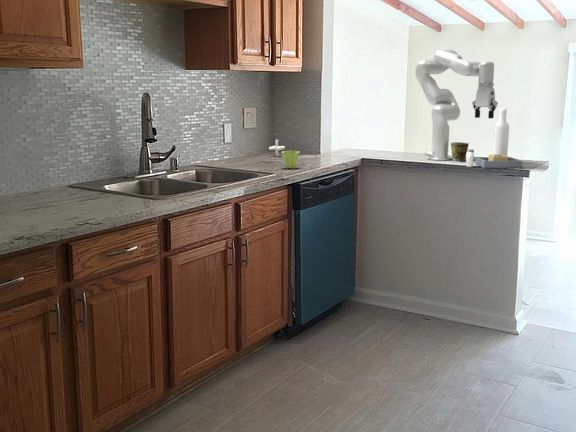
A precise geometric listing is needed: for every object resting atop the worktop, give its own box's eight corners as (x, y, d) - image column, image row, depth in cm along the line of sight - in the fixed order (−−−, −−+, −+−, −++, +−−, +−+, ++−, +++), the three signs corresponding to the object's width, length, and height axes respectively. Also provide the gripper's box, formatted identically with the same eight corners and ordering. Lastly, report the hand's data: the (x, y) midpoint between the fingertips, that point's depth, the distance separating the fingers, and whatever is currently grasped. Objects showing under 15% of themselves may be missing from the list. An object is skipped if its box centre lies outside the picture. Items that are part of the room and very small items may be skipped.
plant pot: (278, 167, 332) (278, 151, 330) (290, 166, 338) (290, 150, 336) (290, 169, 325) (290, 153, 323) (303, 167, 331) (303, 151, 330)
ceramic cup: (452, 158, 367) (453, 142, 365) (469, 160, 362) (470, 142, 360) (446, 161, 356) (447, 144, 354) (463, 162, 351) (464, 144, 349)
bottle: (497, 163, 349) (501, 109, 342) (489, 161, 356) (493, 108, 350) (509, 162, 351) (513, 108, 344) (501, 160, 358) (505, 108, 352)
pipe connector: (266, 155, 383) (266, 139, 380) (280, 154, 387) (280, 138, 385) (272, 157, 374) (272, 140, 372) (287, 156, 378) (287, 140, 376)
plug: (467, 166, 335) (468, 150, 333) (465, 165, 338) (466, 149, 337) (473, 166, 335) (474, 150, 333) (471, 165, 339) (472, 149, 337)
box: (483, 168, 328) (484, 157, 327) (474, 164, 344) (475, 153, 342) (521, 168, 328) (522, 157, 327) (510, 164, 344) (511, 153, 342)
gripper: (503, 85, 326) (501, 118, 329) (478, 85, 341) (477, 117, 344) (492, 85, 322) (491, 118, 326) (468, 85, 337) (467, 117, 341)
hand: (484, 118), depth 335 cm, fingers open, 9 cm apart
